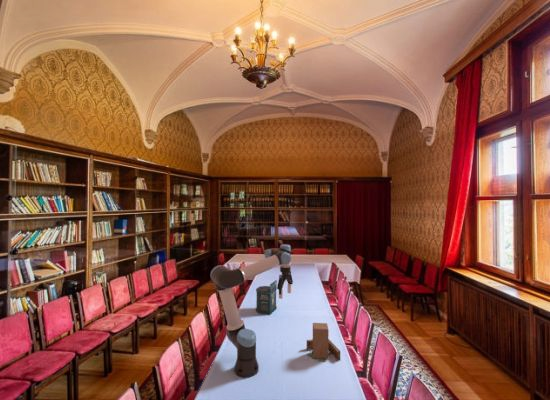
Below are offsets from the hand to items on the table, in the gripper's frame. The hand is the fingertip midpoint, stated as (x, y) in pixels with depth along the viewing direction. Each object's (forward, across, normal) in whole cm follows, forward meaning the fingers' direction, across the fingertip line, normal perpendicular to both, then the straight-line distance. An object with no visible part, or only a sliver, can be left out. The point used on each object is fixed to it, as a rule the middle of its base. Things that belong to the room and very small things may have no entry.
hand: (285, 295), depth 216 cm
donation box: (+37, +50, +47) cm, 78 cm away
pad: (+37, +1, -26) cm, 45 cm away
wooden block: (+36, +1, -27) cm, 45 cm away
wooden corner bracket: (+37, +4, -28) cm, 46 cm away
